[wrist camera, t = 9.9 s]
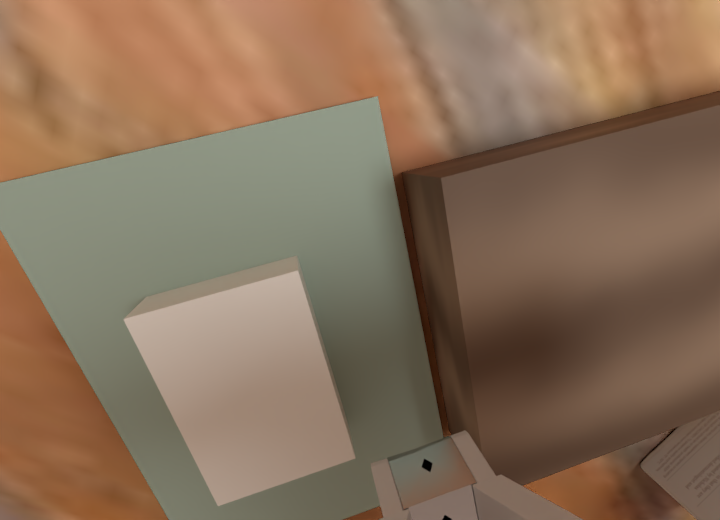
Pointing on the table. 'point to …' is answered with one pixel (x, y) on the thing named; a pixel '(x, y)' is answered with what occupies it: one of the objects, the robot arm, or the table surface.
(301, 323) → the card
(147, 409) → the mat
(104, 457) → the table surface
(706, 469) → the supplement box
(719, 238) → the brown flat block
